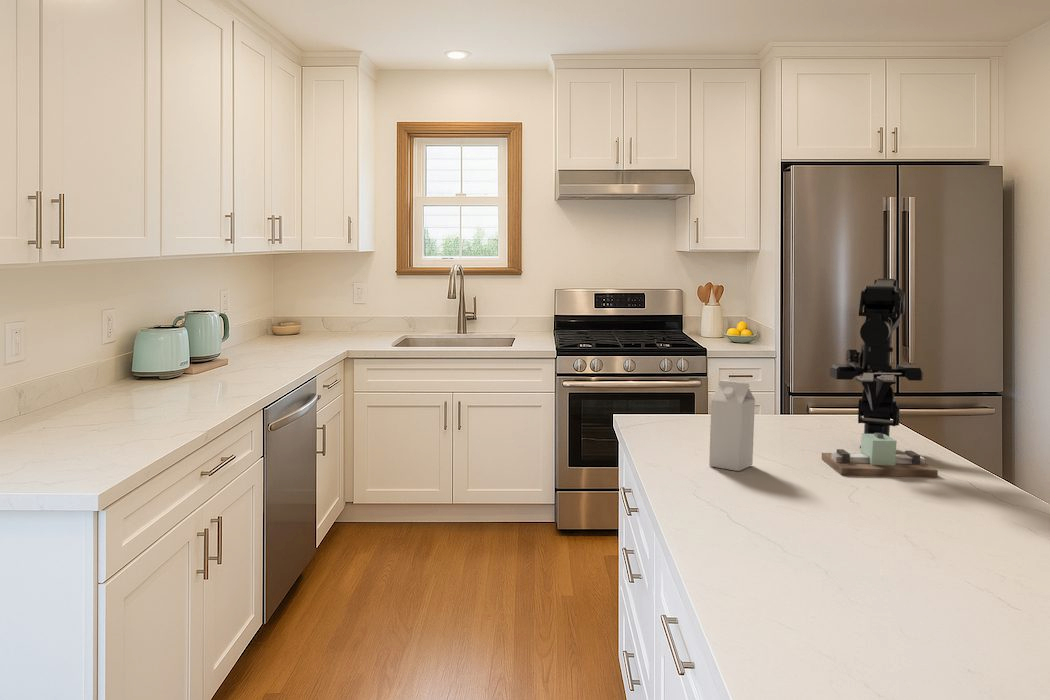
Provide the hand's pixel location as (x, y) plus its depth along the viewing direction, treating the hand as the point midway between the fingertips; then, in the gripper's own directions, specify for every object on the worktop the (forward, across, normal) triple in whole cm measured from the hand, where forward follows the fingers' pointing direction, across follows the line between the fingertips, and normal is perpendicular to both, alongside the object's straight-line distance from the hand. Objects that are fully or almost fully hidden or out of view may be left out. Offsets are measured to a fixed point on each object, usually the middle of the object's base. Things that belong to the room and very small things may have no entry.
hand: (873, 410), depth 183 cm
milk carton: (+12, +33, +6) cm, 36 cm away
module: (+10, 0, +5) cm, 12 cm away
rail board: (+12, 0, +5) cm, 13 cm away
